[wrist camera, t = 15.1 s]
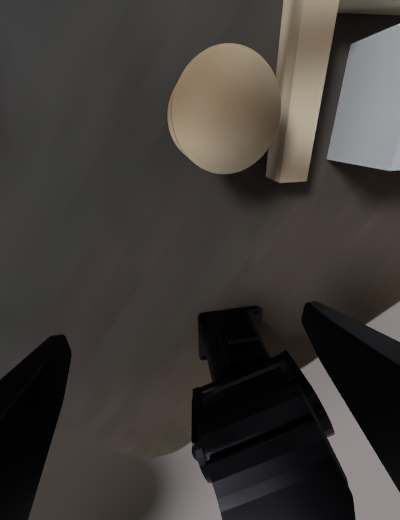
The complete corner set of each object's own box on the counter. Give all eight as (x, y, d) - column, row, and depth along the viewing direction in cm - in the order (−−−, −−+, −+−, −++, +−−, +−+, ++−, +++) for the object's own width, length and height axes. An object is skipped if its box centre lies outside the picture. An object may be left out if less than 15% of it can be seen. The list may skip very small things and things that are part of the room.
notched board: (420, 168, 21) (451, 172, 19) (265, 176, 19) (279, 182, 17) (519, -86, 14) (584, -125, 12) (294, -111, 12) (324, -161, 10)
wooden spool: (245, 161, 18) (274, 171, 14) (170, 164, 18) (176, 176, 13) (251, 67, 16) (288, 44, 11) (163, 66, 15) (167, 42, 11)
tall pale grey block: (371, 157, 20) (448, 167, 15) (326, 159, 19) (389, 171, 14) (403, 45, 17) (518, 7, 11) (350, 44, 16) (444, 4, 11)
